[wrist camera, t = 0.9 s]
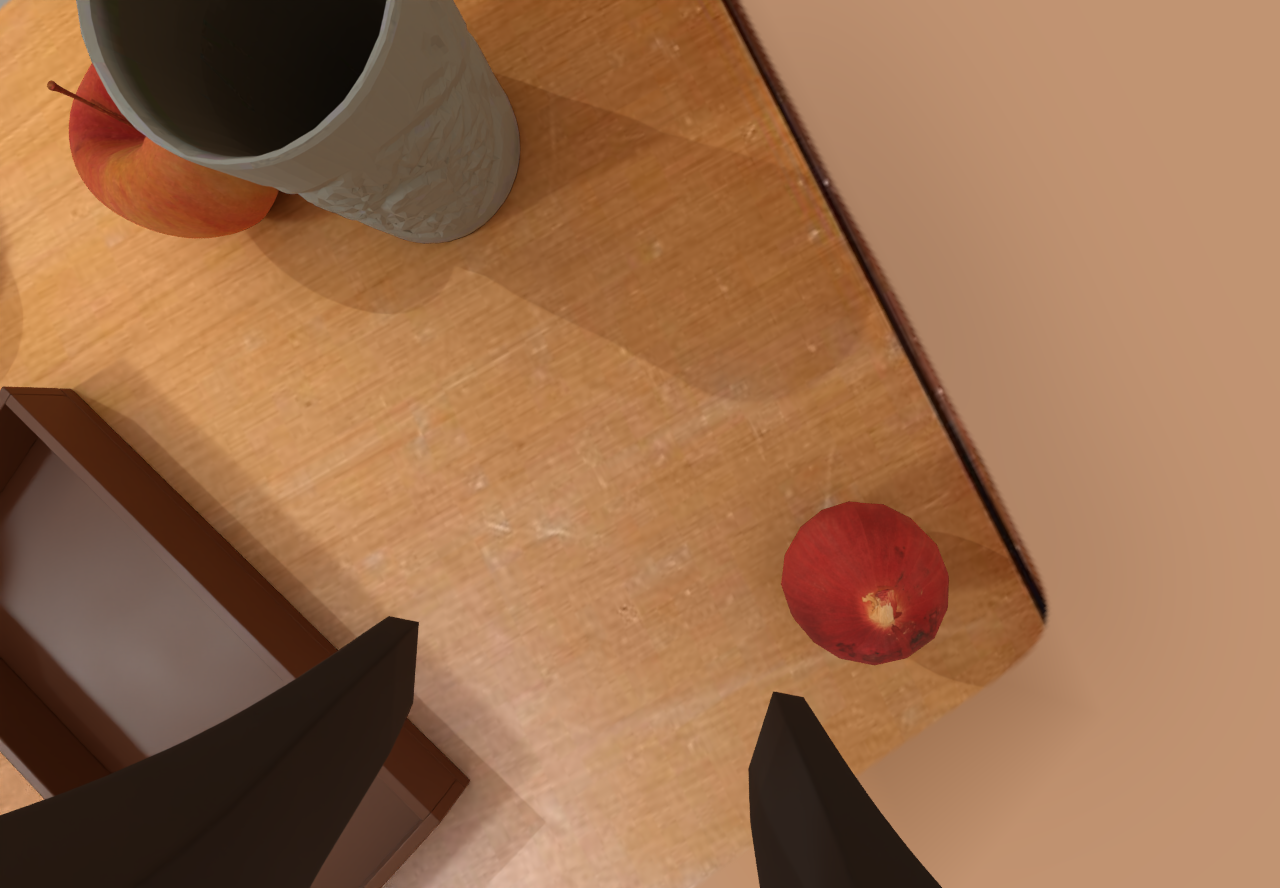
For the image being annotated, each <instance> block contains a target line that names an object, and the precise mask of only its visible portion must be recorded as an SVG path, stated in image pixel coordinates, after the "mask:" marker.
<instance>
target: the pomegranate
mask: <svg viewBox="0 0 1280 888" xmlns="http://www.w3.org/2000/svg"><path fill="white" fill-rule="evenodd" d="M948 584H949V576H948V572H947V570H946V567H945V565H944V562H943V559H942V557H941V554H940V552H939V549H938V547H937V545H936V544H935V543H934V541H933V540H932V539H931V538H930V537H929V536H928V535H927V534H926V533H925V532H924V531H923V530H922V529H921V528H920V527H919V526H918V525H917V524H916V523H915V522H914V521H913V520H912V519H911V518H909V517H907V516H905V515H903V514H901V513H899V512H897V511H895V510H893V509H891V508H889V507H887V506H886V505H884V504H869V503H859V502H846V503H843V504H839V505H836V506H833V507H830V508H827V509H823V510H821V511H820V512H819V513H818V514H816V515H815V516H814V517H813V518H811V519H810V520H809V521H808V522H806V523H805V524H804V525H803V526H801V527H800V529H799V531H798V533H797V534H796V536H795V538H794V540H793V541H792V543H791V545H790V547H789V548H788V550H787V552H786V554H785V558H784V566H783V574H782V583H781V585H782V588H783V591H784V594H785V597H786V600H787V603H788V606H789V609H790V612H791V614H792V616H793V618H794V619H795V620H796V622H797V623H798V624H799V625H800V626H801V628H802V629H803V630H804V631H805V632H806V633H807V635H808V636H809V637H810V638H811V639H812V641H813V642H814V643H816V644H818V645H819V646H821V647H822V648H824V649H826V650H827V651H829V652H830V653H832V654H834V655H835V656H837V657H838V658H841V659H845V660H850V661H855V662H861V663H866V664H871V665H878V664H883V663H887V662H891V661H896V660H900V659H905V658H907V657H909V656H910V655H912V654H913V653H914V652H916V651H917V650H919V649H920V648H921V647H923V646H924V645H926V644H927V643H928V642H930V641H931V640H932V639H934V638H935V635H936V633H937V631H938V629H939V626H940V624H941V622H942V620H943V617H944V615H945V613H946V611H947V608H948Z"/></svg>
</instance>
